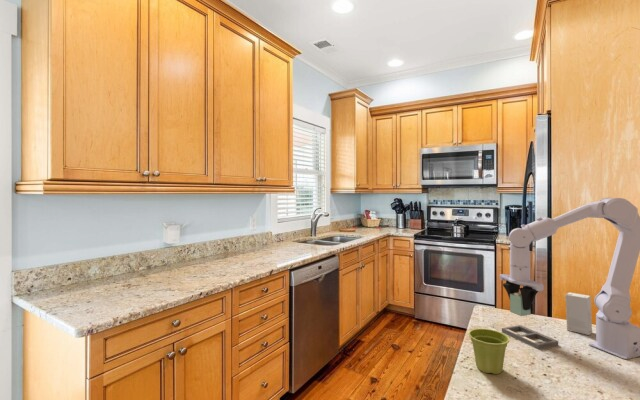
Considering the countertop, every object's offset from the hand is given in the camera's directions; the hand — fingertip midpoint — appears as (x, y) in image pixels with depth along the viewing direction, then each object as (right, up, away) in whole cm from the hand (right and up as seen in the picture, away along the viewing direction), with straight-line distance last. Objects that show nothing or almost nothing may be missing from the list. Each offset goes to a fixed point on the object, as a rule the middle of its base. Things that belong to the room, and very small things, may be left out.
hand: (520, 307), depth 105 cm
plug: (0, -2, 0) cm, 2 cm away
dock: (+1, -9, -3) cm, 9 cm away
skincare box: (+20, -9, +2) cm, 22 cm away
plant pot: (-21, -10, -20) cm, 31 cm away
